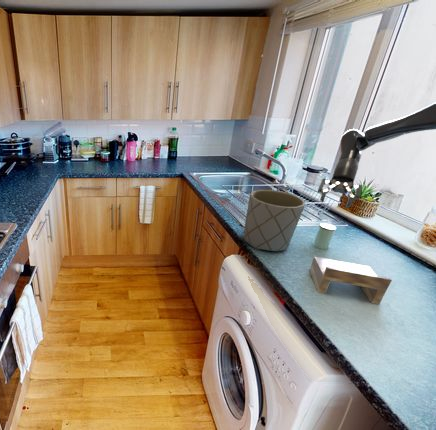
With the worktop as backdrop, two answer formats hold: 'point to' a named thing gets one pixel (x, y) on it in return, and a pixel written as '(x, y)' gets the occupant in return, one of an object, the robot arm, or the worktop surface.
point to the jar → (324, 236)
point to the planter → (272, 219)
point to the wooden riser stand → (348, 277)
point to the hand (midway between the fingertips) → (334, 203)
